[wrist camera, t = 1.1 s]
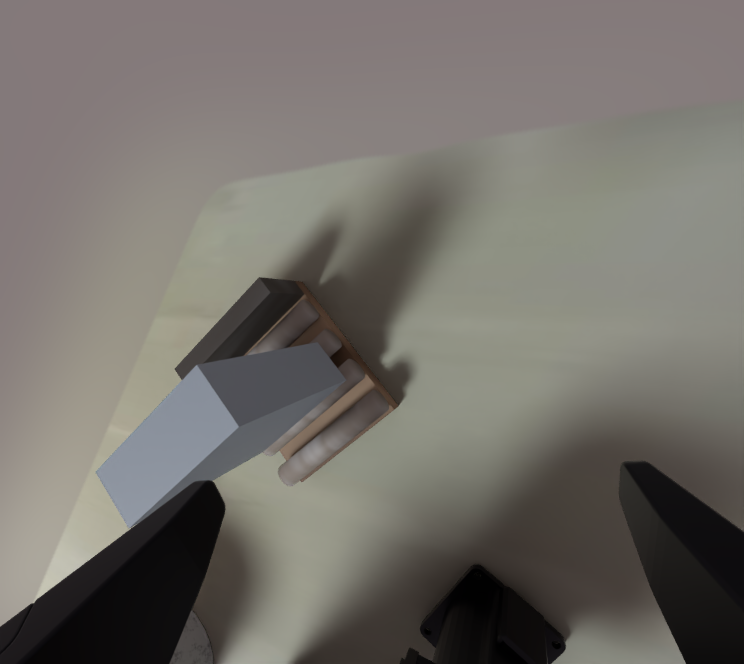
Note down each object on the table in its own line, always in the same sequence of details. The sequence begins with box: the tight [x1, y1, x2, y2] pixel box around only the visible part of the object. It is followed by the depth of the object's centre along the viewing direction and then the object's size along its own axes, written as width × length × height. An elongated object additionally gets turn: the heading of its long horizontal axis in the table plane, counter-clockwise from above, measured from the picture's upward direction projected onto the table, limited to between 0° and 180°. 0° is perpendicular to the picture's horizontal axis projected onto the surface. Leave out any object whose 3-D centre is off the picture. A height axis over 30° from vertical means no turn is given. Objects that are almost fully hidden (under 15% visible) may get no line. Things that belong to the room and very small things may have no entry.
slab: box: [96, 342, 346, 528], centre depth 21 cm, size 3×8×10 cm, turn 131°
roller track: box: [175, 277, 398, 486], centre depth 27 cm, size 11×9×5 cm
